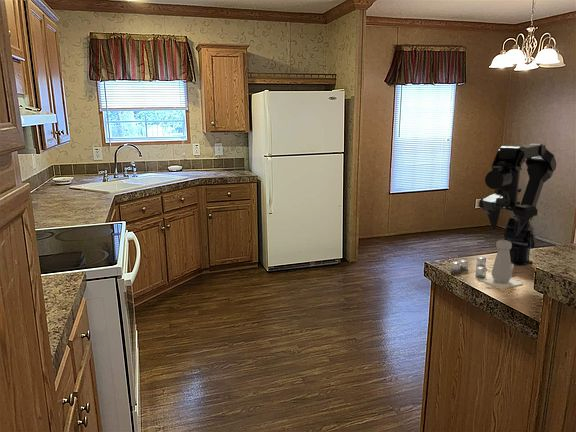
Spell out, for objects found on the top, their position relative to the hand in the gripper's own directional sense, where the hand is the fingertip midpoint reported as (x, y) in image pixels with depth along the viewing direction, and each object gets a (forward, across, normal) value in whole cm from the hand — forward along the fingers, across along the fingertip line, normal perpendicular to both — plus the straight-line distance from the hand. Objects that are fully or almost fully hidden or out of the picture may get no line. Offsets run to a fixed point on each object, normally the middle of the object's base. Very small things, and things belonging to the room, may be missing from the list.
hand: (504, 232), depth 149 cm
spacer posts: (+13, -2, -7) cm, 15 cm away
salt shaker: (+13, +8, -9) cm, 18 cm away
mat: (+13, +8, -9) cm, 18 cm away
